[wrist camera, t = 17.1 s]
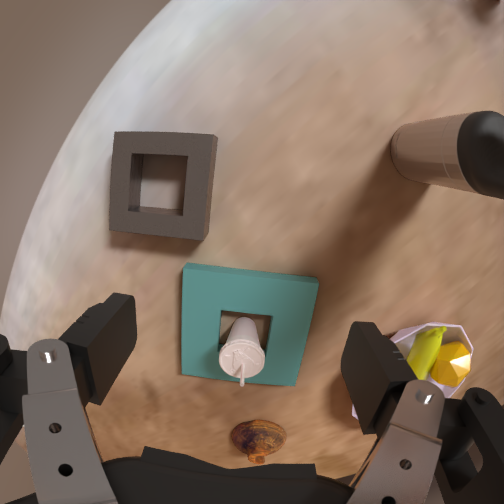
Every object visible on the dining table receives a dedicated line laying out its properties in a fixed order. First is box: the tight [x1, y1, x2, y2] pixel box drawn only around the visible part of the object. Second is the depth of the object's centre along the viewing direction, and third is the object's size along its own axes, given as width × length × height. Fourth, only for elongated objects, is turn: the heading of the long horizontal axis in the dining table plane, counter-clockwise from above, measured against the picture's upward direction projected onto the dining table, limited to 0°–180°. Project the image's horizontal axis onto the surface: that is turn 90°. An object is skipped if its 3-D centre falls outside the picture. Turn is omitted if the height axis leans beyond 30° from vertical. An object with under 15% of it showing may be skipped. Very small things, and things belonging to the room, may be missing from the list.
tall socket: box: [109, 132, 218, 241], centre depth 40 cm, size 14×14×4 cm
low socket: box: [182, 263, 319, 386], centre depth 48 cm, size 20×20×2 cm
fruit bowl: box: [352, 322, 473, 419], centre depth 46 cm, size 28×27×11 cm
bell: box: [232, 420, 286, 464], centre depth 54 cm, size 12×12×7 cm
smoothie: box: [219, 317, 265, 386], centre depth 42 cm, size 6×6×14 cm
